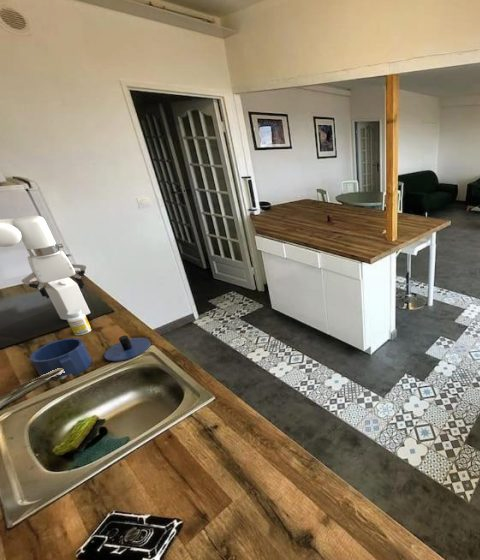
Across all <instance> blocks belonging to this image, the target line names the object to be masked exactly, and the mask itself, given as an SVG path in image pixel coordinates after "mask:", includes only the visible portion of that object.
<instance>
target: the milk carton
mask: <svg viewBox="0 0 480 560" xmlns="http://www.w3.org/2000/svg"><path fill="white" fill-rule="evenodd" d="M44 288H45V289H46V291H47V293H48V295H49V297H50V298H49V299H50V301H51V303H52V305H53V307H54V309H55V311H56V313H57V315H58V316H59V318H60V320H64V321H67V319H68V318H69V317H68V315H67V313H68V312H70V311H72V310H81V312H82V314H84V315H85V316H88V315H90V314H91V311H90V308H89V307H88V304H87V302H86V300H85V298H84V296H83V293H82V291H81V288H80V287H79V286H78V284H77V282H76V280H73V279H72V278H71V277H67V278H63V279H60V280H56V281H52V282H48V283H46V286H45V287H44Z"/></svg>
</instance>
